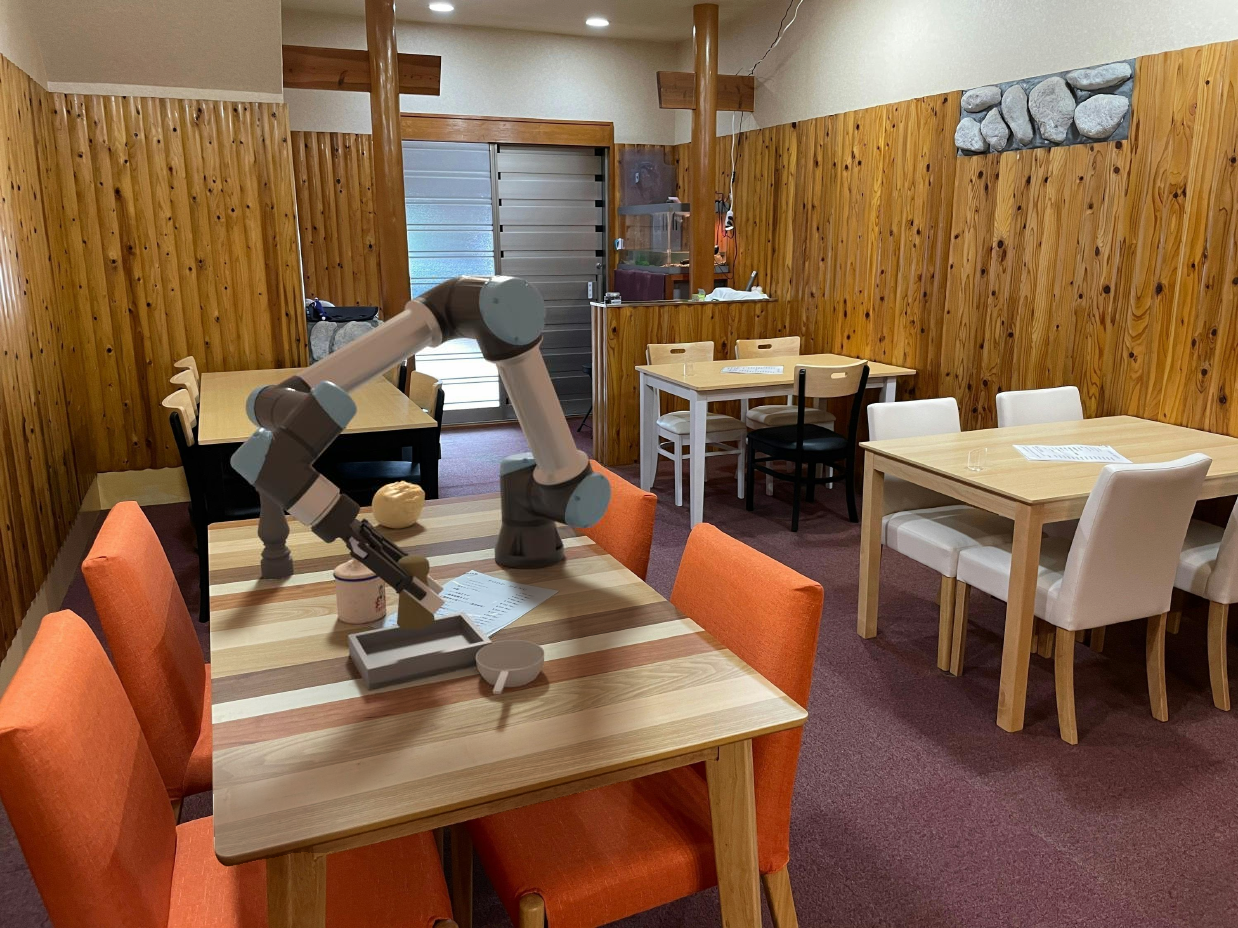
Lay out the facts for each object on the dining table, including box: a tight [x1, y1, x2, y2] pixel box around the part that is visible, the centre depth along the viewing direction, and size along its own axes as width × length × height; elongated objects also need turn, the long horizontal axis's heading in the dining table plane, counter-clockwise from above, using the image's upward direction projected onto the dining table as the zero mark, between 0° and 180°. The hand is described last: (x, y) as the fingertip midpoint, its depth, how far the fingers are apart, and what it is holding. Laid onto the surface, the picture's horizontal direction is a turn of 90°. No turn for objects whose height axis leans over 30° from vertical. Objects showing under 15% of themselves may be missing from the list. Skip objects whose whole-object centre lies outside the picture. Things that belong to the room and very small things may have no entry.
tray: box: [347, 611, 493, 691], centre depth 145 cm, size 20×14×4 cm
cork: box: [396, 554, 436, 629], centre depth 142 cm, size 6×6×11 cm
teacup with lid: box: [332, 557, 387, 625], centre depth 162 cm, size 12×9×12 cm
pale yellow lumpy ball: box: [371, 480, 426, 529], centre depth 214 cm, size 11×12×11 cm
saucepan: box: [476, 639, 545, 695], centre depth 136 cm, size 11×18×4 cm, turn 178°
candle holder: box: [255, 487, 295, 580], centre depth 179 cm, size 6×6×25 cm
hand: (438, 600), depth 143 cm, fingers closed on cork, 5 cm apart
